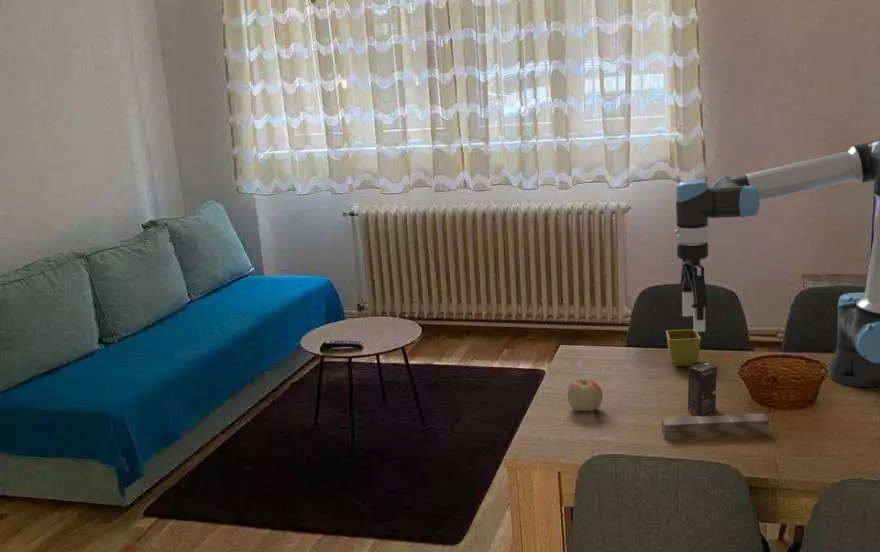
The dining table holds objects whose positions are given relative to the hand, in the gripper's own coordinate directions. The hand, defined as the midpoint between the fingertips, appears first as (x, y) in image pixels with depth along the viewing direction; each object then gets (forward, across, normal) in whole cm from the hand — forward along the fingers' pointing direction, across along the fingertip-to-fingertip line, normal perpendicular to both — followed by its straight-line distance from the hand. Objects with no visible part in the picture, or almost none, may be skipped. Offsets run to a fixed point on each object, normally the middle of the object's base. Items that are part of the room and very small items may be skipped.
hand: (693, 323), depth 223 cm
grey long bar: (+20, +22, 0) cm, 30 cm away
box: (+21, +9, 0) cm, 22 cm away
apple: (+20, +5, -29) cm, 36 cm away
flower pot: (+21, -25, +2) cm, 32 cm away
